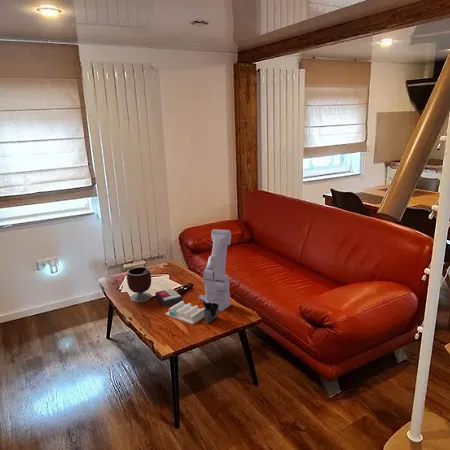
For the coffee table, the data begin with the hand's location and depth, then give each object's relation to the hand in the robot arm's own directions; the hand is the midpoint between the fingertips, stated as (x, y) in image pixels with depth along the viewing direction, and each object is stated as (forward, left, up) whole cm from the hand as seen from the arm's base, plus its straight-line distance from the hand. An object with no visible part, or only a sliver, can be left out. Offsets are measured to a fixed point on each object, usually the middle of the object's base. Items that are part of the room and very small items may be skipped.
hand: (211, 314), depth 203 cm
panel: (0, 0, -3) cm, 2 cm away
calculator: (-6, -36, -4) cm, 37 cm away
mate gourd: (+1, -51, -3) cm, 51 cm away
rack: (+2, -15, -3) cm, 15 cm away
